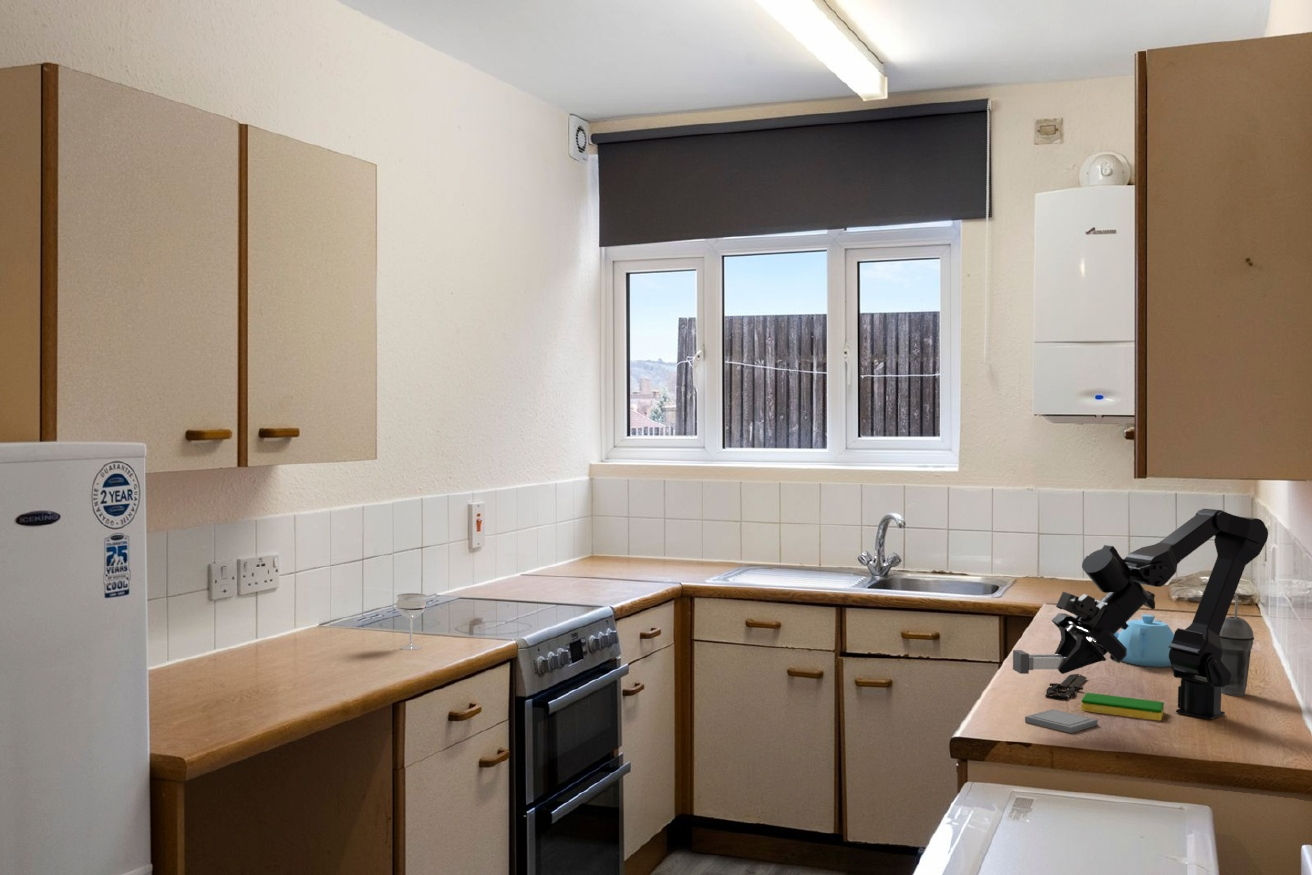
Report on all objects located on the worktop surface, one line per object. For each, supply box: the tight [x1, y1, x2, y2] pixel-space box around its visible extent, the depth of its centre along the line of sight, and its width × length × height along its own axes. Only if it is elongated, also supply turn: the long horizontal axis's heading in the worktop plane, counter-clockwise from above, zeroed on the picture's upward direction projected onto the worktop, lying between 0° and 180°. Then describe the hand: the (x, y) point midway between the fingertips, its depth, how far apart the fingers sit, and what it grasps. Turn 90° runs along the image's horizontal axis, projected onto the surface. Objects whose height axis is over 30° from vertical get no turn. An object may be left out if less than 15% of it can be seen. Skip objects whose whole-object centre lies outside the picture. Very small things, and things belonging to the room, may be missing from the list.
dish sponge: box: [1080, 692, 1165, 721], centre depth 214 cm, size 7×14×2 cm, turn 62°
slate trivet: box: [1024, 708, 1099, 734], centre depth 204 cm, size 9×9×1 cm
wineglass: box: [395, 592, 427, 651], centre depth 260 cm, size 7×7×12 cm
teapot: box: [1114, 614, 1174, 668], centre depth 260 cm, size 15×15×11 cm
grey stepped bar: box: [1012, 649, 1084, 675], centre depth 203 cm, size 4×4×12 cm
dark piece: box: [1044, 673, 1088, 701], centre depth 233 cm, size 25×6×1 cm, turn 144°
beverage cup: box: [1219, 595, 1255, 697], centre depth 230 cm, size 7×7×20 cm
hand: (1055, 669), depth 203 cm, fingers closed on grey stepped bar, 3 cm apart
